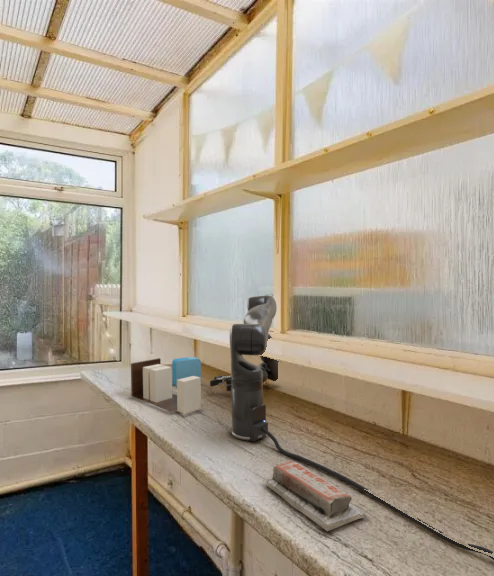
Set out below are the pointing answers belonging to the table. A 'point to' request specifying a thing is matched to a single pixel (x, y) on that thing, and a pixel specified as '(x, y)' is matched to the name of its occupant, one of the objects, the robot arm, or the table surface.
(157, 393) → the cream rectangular block
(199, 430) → the table surface
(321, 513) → the packaged product
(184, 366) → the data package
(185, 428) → the table surface
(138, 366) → the dark wood bookend
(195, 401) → the upright ivory block
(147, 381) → the white book
